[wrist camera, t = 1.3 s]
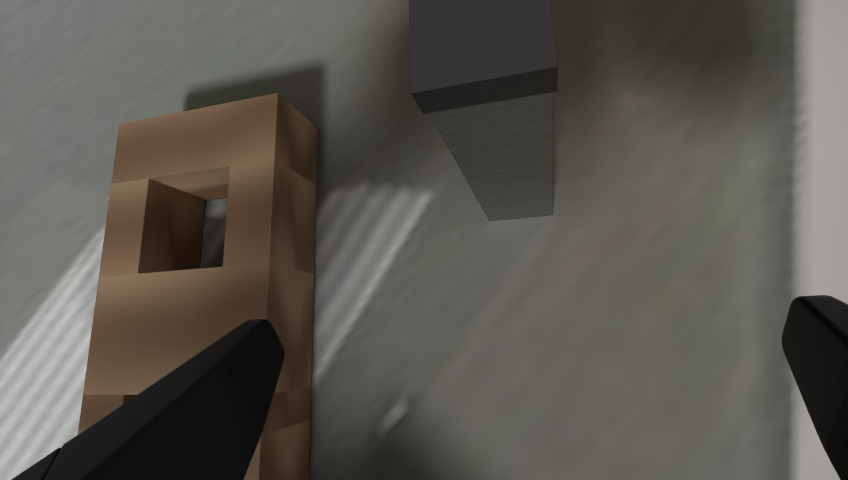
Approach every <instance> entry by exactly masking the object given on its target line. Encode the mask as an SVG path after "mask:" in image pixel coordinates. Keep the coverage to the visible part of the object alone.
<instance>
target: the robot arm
mask: <svg viewBox="0 0 848 480" xmlns="http://www.w3.org/2000/svg"><path fill="white" fill-rule="evenodd" d="M782 347H783V351H784V354H785V356H786V358H787V361H788V363H789V366H790V368H791V371H792V373H793V376H794V378H795V380H796V383H797V385H798V388H799V390H800V393H801V395H802V397H803V400H804V402H805V405H806V407H807V410H808V412H809V415H810V417H811V419H812V422H813V424H814V427H815V429H816V431H817V434H818V436H819V438H820V441H821V443H822V445H823V447H824V449H825V451H826V453H827V455H828V457H829V459H830V461H831V463H832V465H833V467H834V468H835V470H836V472H837V474H838V475H839V478H840V479H841V480H848V305H847V304H846V303H844V302H842V301H840V300H838V299H836V298H834V297H831V296H826V295H821V296H820V295H819V296H800V297H797V298H795V299H794V300H793V301H792V303H791V305H790V308H789V312H788V316H787V319H786V323H785V326H784V330H783V334H782ZM284 358H285V349H284V346H283V344H282V342H281V340H280V338H279V336H278V334H277V332H276V331H275V329H274V327H273V325H272V323H271V322H270V321H269V320H267V319H250V320H247V321H245V322H244V323H242V324H241V325H239V326H238V327H236V328H235V329H233V330H232V331H230V332H229V333H227V334H226V335H224V336H223V337H221V338H220V339H219V340H217V341H216V342H214V343H213V344H211V345H210V346H208V347H207V348H205V349H204V350H202V351H201V352H199V353H198V354H196V355H195V356H194V357H192V358H191V359H189V360H188V361H186V362H185V363H183V364H182V365H180V366H179V367H177V368H176V369H174V370H173V371H171V372H170V373H168V374H167V375H166V376H164V377H163V378H161V379H160V380H158V381H157V382H155V383H154V384H152V385H151V386H149V387H148V388H146V389H145V390H143V391H142V392H140V393H139V394H138V395H136V396H135V397H133V398H132V399H130V400H129V401H127V402H126V403H124V404H123V405H121V406H120V407H118V408H117V409H115V410H114V411H112V412H111V413H110V414H108V415H107V416H105V417H104V418H102V419H101V420H99V421H98V422H96V423H95V424H93V425H92V426H90V427H89V428H87V429H86V430H85V431H83V432H82V433H80V434H79V435H77V436H76V437H74V438H73V439H71V440H70V441H68V442H67V443H65V444H64V445H63V446H62V448H58V449H56V450H55V451H53V452H52V453H50V454H49V455H47V456H46V457H45V458H43V459H42V460H40V461H39V462H37V463H36V464H34V465H33V466H31V467H30V468H28V469H27V470H25V471H24V472H22V473H21V474H19V475H18V476H16V477H15V478H13V479H12V480H244V477H245V475H246V472H247V470H248V467H249V465H250V462H251V460H252V457H253V455H254V452H255V450H256V447H257V445H258V442H259V440H260V437H261V435H262V432H263V429H264V426H265V423H266V420H267V417H268V413H269V410H270V407H271V403H272V400H273V396H274V393H275V390H276V386H277V383H278V379H279V376H280V373H281V369H282V366H283V362H284Z"/></svg>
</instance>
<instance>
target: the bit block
mask: <svg viewBox="0 0 848 480" xmlns="http://www.w3.org/2000/svg"><path fill="white" fill-rule="evenodd" d="M317 156H318V128H317V127H316V126H315V125H314V124H313V123H312V122H310V121H309V120H308V119H307V118H306V117H305V116H304V115H302V114H301V113H300V112H299V111H298V110H297V109H296V108H294V107H293V106H292V105H291V104H290V103H289V102H288V101H287V100H285V99H284V98H283V97H282V96H281V95H280V94H279V93H274V94H269V95H264V96H259V97H254V98H249V99H244V100H239V101H234V102H229V103H224V104H219V105H214V106H209V107H204V108H198V109H193V110H188V111H183V112H178V113H173V114H168V115H163V116H158V117H153V118H148V119H143V120H138V121H133V122H128V123H123V124H119V131H118V139H117V146H116V154H115V161H114V169H113V176H112V184H111V191H110V199H109V206H108V213H107V221H106V228H105V236H104V243H103V251H102V258H101V266H100V273H99V280H98V288H97V295H96V303H95V310H94V318H93V325H92V333H91V340H90V348H89V355H88V362H87V370H86V377H85V385H84V392H83V400H82V407H81V415H80V422H79V430H78V435H79V434H80V433H82V432H83V431H85V430H86V429H87V428H89V427H90V426H92V425H93V424H95V423H96V422H98V421H99V420H101V419H102V418H104V417H105V416H107V415H108V414H110V413H111V412H112V411H114V410H115V409H117V408H118V407H120V406H121V405H123V404H124V403H126V402H127V401H129V400H130V399H132V398H133V397H135V396H136V395H138V394H139V393H140V392H142V391H143V390H145V389H146V388H148V387H149V386H151V385H152V384H154V383H155V382H157V381H158V380H160V379H161V378H163V377H164V376H166V375H167V374H168V373H170V372H171V371H173V370H174V369H176V368H177V367H179V366H180V365H182V364H183V363H185V362H186V361H188V360H189V359H191V358H192V357H194V356H195V355H196V354H198V353H199V352H201V351H202V350H204V349H205V348H207V347H208V346H210V345H211V344H213V343H214V342H216V341H217V340H219V339H220V338H221V337H223V336H224V335H226V334H227V333H229V332H230V331H232V330H233V329H235V328H236V327H238V326H239V325H241V324H242V323H244V322H245V321H247V320H250V319H267V320H269V321H270V322H271V323H272V325H273V327H274V329H275V331H276V332H277V334H278V336H279V338H280V340H281V342H282V344H283V346H284V349H285V358H284V362H283V366H282V369H281V373H280V376H279V379H278V383H277V386H276V390H275V393H274V396H273V400H272V403H271V407H270V410H269V413H268V417H267V420H266V423H265V426H264V429H263V432H262V435H261V437H260V440H259V442H258V445H257V447H256V450H255V452H254V455H253V457H252V460H251V462H250V465H249V467H248V470H247V472H246V475H245V477H244V480H309V453H310V416H311V378H312V341H313V304H314V267H315V230H316V193H317ZM221 198H228V201H227V215H226V228H225V242H224V256H223V267H213V268H201V269H200V259H201V247H202V235H203V223H204V211H205V201H206V200H213V199H221Z"/></svg>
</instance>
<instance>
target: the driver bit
mask: <svg viewBox="0 0 848 480" xmlns="http://www.w3.org/2000/svg"><path fill="white" fill-rule="evenodd" d="M409 16H410V58H411V94H412V95H413V97H414V99H415V100H416V102H417V104H418V105H419V107H420V109H421V111H422V112H423V114H426V113H429V114H430V116H431V117H432V119H433V121H434V123H435V125H436V126H437V128H438V130H439V132H440V133H441V135H442V137H443V139H444V141H445V142H446V144H447V146H448V148H449V150H450V151H451V153H452V155H453V157H454V159H455V160H456V162H457V164H458V166H459V168H460V169H461V171H462V173H463V175H464V177H465V178H466V180H467V182H468V184H469V186H470V187H471V189H472V191H473V193H474V194H475V196H476V198H477V200H478V202H479V203H480V205H481V207H482V209H483V211H484V212H485V214H486V216H487V218H488V220H489V221H496V220H506V219H516V218H527V217H537V216H547V215H553V137H552V92H557V70H558V66H557V57H556V47H555V38H554V28H553V19H552V9H551V0H409Z"/></svg>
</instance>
